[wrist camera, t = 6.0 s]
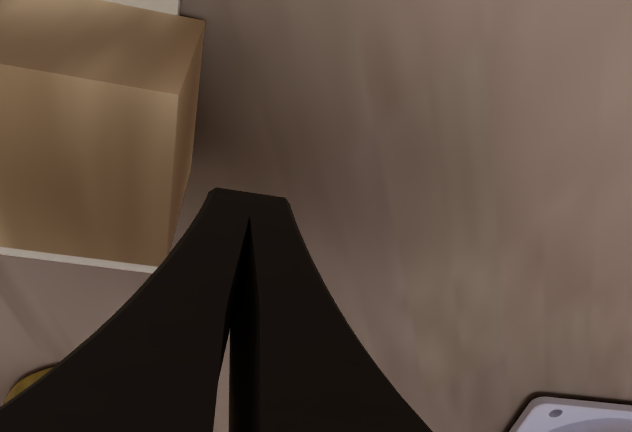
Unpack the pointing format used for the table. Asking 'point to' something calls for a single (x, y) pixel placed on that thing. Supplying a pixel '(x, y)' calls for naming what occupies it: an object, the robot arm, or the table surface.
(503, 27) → the table surface
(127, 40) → the block
